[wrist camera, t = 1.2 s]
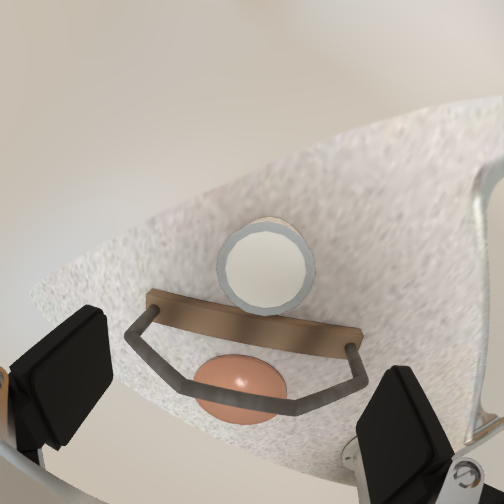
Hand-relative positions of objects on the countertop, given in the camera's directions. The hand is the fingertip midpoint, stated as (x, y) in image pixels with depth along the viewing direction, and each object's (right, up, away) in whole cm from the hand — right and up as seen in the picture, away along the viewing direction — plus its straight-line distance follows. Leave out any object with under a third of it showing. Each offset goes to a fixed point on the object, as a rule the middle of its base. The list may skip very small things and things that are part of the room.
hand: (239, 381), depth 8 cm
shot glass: (+2, +5, +18) cm, 19 cm away
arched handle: (+1, -3, +20) cm, 20 cm away
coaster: (-1, -12, +23) cm, 26 cm away
